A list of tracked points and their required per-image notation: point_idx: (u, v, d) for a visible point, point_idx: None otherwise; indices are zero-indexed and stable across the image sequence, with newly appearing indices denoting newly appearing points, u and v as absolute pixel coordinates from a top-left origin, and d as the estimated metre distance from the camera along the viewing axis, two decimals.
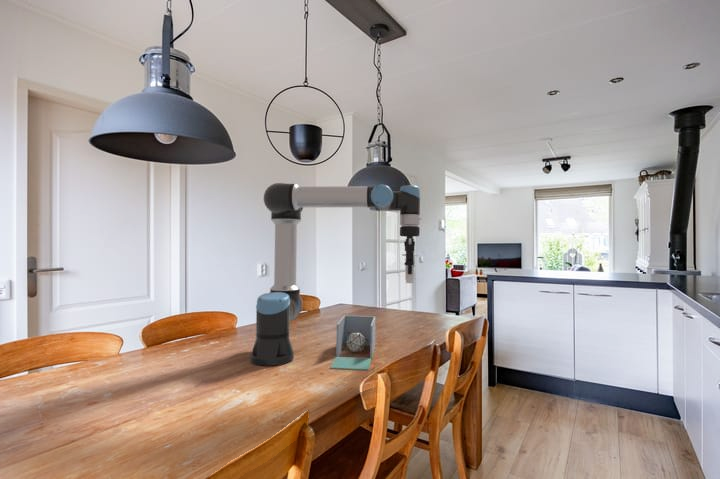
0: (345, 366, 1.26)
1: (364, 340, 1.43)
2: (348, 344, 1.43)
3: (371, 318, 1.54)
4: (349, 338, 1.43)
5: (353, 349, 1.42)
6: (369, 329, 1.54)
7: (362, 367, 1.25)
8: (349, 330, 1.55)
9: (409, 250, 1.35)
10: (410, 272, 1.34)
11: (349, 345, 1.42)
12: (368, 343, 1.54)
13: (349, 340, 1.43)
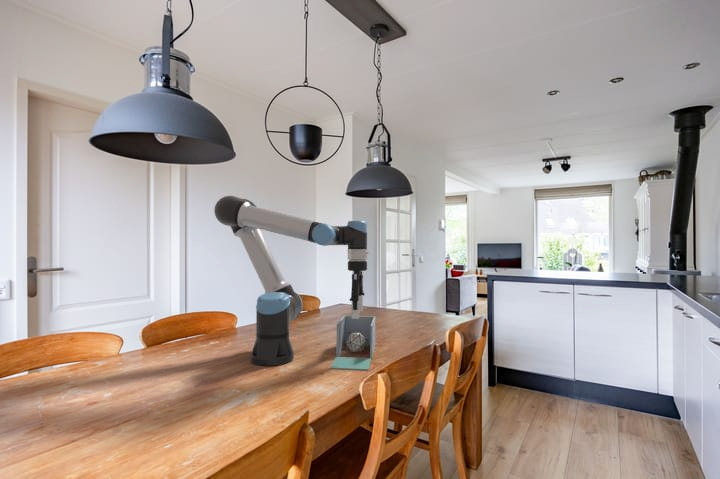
0: (345, 366, 1.26)
1: (364, 340, 1.43)
2: (348, 344, 1.43)
3: (371, 318, 1.54)
4: (349, 338, 1.43)
5: (353, 349, 1.42)
6: (369, 329, 1.54)
7: (362, 367, 1.25)
8: (349, 330, 1.55)
9: (354, 286, 1.36)
10: (355, 308, 1.36)
11: (349, 345, 1.42)
12: (368, 343, 1.54)
13: (349, 340, 1.43)
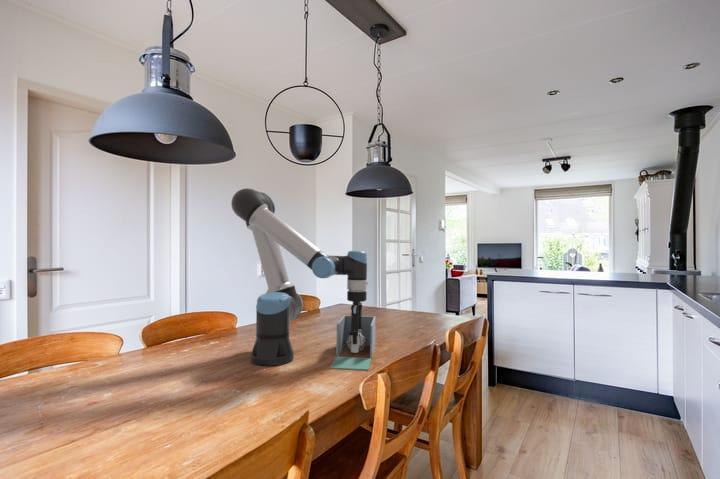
0: (345, 366, 1.26)
1: (364, 340, 1.43)
2: (348, 344, 1.43)
3: (371, 318, 1.54)
4: (349, 338, 1.43)
5: None
6: (369, 329, 1.54)
7: (362, 367, 1.25)
8: (349, 330, 1.55)
9: (353, 321, 1.37)
10: (355, 342, 1.38)
11: (349, 345, 1.42)
12: (368, 343, 1.54)
13: (349, 340, 1.43)
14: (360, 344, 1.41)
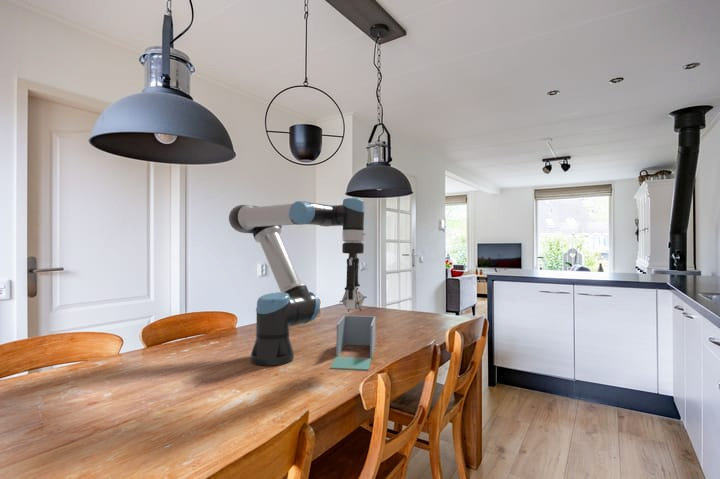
0: (345, 366, 1.26)
1: (361, 297, 1.30)
2: (344, 301, 1.29)
3: (371, 318, 1.54)
4: (345, 294, 1.30)
5: None
6: (369, 329, 1.54)
7: (362, 367, 1.25)
8: (349, 330, 1.55)
9: (349, 273, 1.24)
10: (351, 297, 1.25)
11: (345, 302, 1.29)
12: (368, 343, 1.54)
13: (345, 297, 1.29)
14: (357, 300, 1.27)
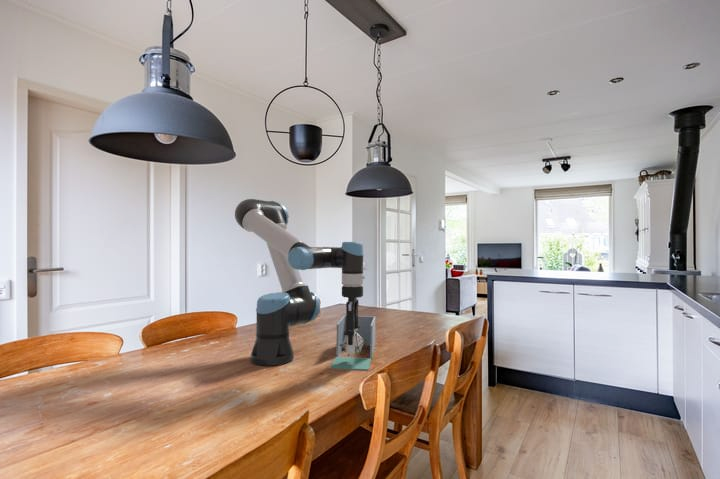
0: (345, 366, 1.26)
1: (361, 340, 1.29)
2: (344, 345, 1.29)
3: (371, 318, 1.54)
4: (345, 338, 1.29)
5: None
6: (369, 329, 1.54)
7: (362, 367, 1.25)
8: (349, 330, 1.55)
9: (349, 319, 1.24)
10: (350, 343, 1.24)
11: (345, 346, 1.28)
12: (368, 343, 1.54)
13: (344, 341, 1.29)
14: (357, 345, 1.27)
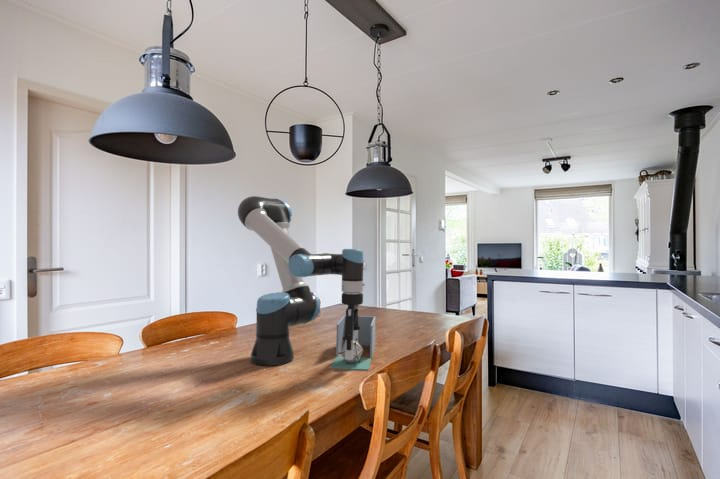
0: (345, 366, 1.26)
1: (360, 349, 1.29)
2: (343, 353, 1.29)
3: (371, 318, 1.54)
4: (344, 347, 1.29)
5: None
6: (369, 329, 1.54)
7: (362, 367, 1.25)
8: None
9: (348, 324, 1.22)
10: (349, 348, 1.22)
11: (344, 354, 1.29)
12: (368, 343, 1.54)
13: (344, 349, 1.29)
14: (356, 354, 1.27)
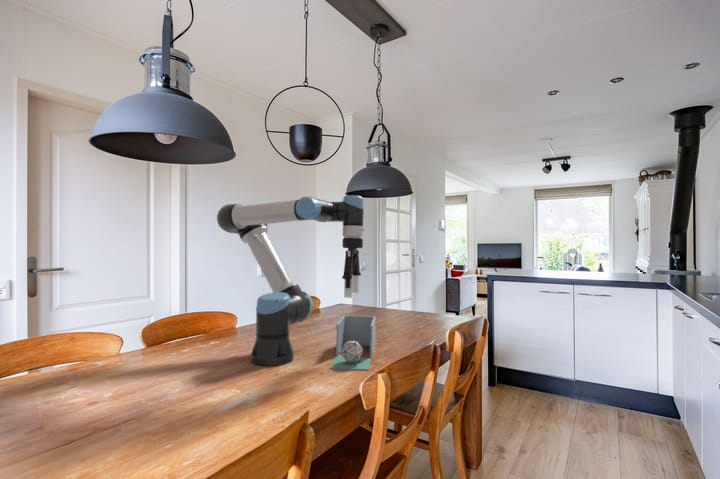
0: (345, 366, 1.26)
1: (360, 349, 1.29)
2: (343, 353, 1.29)
3: (371, 318, 1.54)
4: (344, 347, 1.29)
5: (348, 359, 1.28)
6: (369, 329, 1.54)
7: (362, 367, 1.25)
8: (349, 330, 1.55)
9: (347, 263, 1.29)
10: (348, 286, 1.29)
11: (344, 354, 1.29)
12: (368, 343, 1.54)
13: (344, 349, 1.29)
14: (356, 354, 1.27)
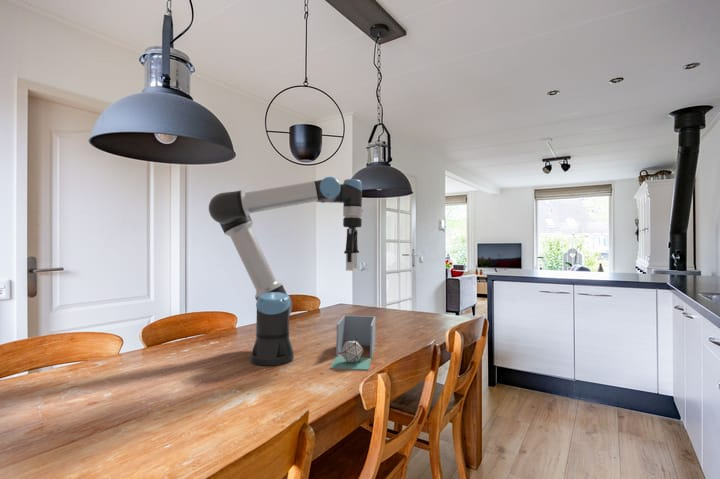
0: (345, 366, 1.26)
1: (360, 349, 1.29)
2: (343, 353, 1.29)
3: (371, 318, 1.54)
4: (344, 347, 1.29)
5: (348, 359, 1.28)
6: (369, 329, 1.54)
7: (362, 367, 1.25)
8: (349, 330, 1.55)
9: (348, 239, 1.44)
10: (349, 260, 1.44)
11: (344, 354, 1.29)
12: (368, 343, 1.54)
13: (344, 349, 1.29)
14: (356, 354, 1.27)
